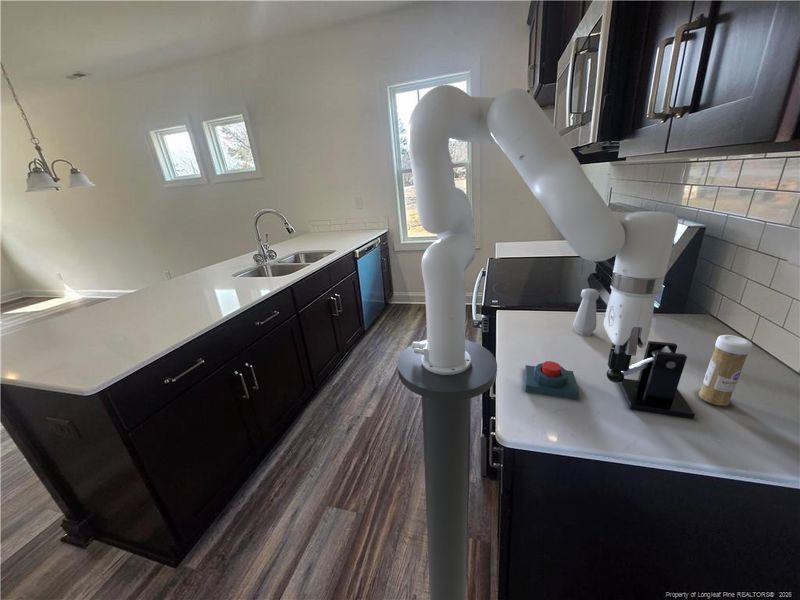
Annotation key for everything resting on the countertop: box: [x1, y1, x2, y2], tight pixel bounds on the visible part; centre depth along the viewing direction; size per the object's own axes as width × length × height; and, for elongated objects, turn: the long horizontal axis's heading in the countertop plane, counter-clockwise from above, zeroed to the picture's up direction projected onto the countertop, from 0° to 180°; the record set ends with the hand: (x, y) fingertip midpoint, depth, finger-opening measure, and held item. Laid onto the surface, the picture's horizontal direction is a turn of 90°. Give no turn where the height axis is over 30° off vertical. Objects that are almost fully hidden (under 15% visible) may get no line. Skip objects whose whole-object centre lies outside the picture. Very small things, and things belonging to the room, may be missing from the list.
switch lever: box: [606, 346, 672, 384], centre depth 62 cm, size 12×3×3 cm
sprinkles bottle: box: [698, 334, 753, 407], centre depth 60 cm, size 5×5×13 cm
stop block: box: [524, 362, 579, 400], centre depth 70 cm, size 10×8×4 cm
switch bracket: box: [617, 340, 696, 420], centre depth 62 cm, size 10×9×12 cm
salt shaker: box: [572, 287, 600, 336], centre depth 88 cm, size 6×6×13 cm
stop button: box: [542, 360, 562, 377], centre depth 69 cm, size 4×4×2 cm
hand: (617, 368), depth 64 cm, fingers closed
